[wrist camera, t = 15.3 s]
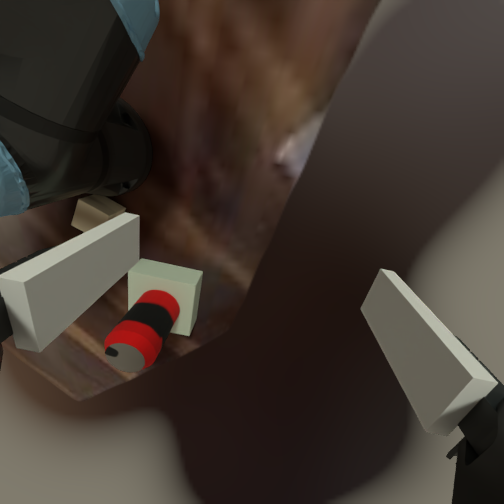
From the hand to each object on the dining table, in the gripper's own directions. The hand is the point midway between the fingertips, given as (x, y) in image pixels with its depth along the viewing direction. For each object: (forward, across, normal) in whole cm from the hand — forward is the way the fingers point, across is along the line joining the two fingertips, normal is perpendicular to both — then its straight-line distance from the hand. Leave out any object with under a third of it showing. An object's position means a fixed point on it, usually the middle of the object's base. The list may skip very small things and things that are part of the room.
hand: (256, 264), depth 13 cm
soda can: (+24, -14, -25) cm, 37 cm away
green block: (+29, -14, -25) cm, 41 cm away
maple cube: (+29, -26, -11) cm, 40 cm away
